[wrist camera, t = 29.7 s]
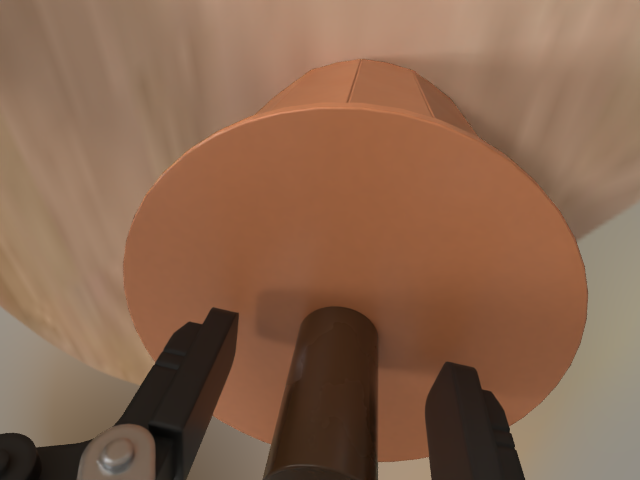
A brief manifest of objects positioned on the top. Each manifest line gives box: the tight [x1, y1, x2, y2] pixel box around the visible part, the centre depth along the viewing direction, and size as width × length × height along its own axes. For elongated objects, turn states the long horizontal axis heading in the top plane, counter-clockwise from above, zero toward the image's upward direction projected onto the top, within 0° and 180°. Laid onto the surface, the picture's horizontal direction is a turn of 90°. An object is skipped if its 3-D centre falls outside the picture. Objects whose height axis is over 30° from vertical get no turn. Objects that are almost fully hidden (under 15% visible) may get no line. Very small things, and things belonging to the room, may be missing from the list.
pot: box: [255, 59, 479, 138], centre depth 17 cm, size 12×12×12 cm
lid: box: [123, 102, 588, 480], centre depth 10 cm, size 14×14×6 cm
